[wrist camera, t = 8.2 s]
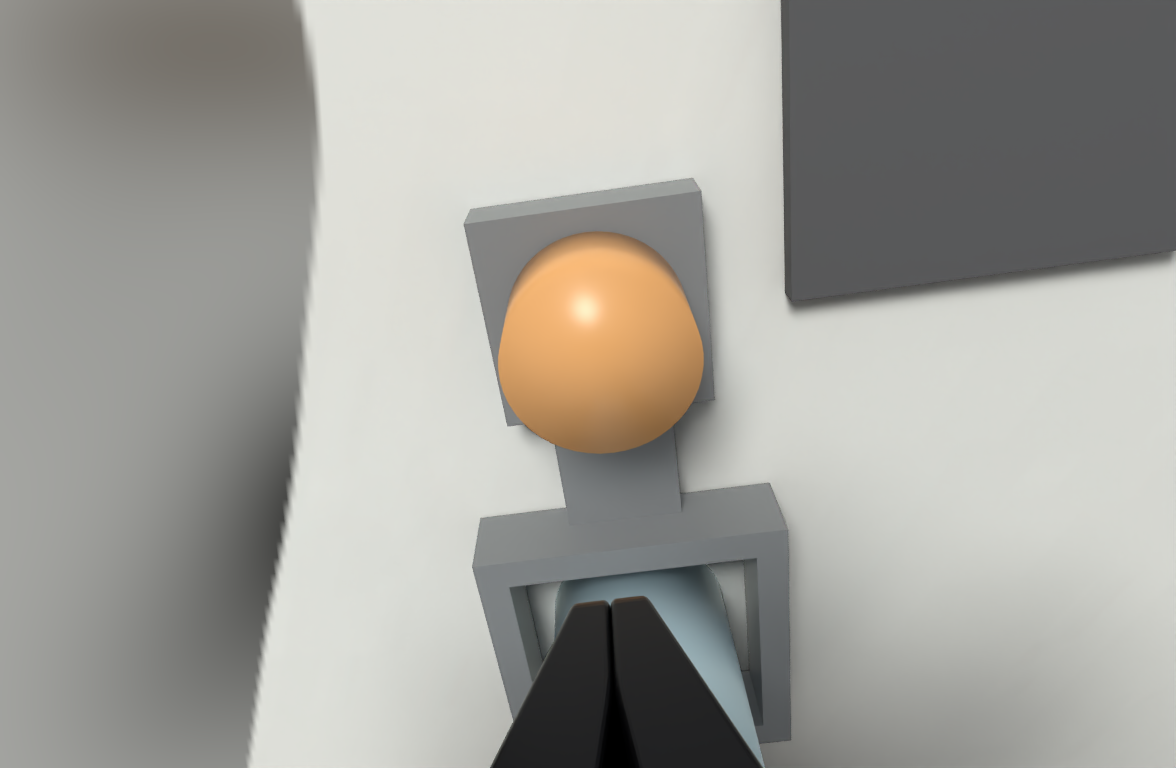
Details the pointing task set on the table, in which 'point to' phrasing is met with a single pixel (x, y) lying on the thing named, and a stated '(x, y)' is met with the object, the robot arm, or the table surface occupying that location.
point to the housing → (625, 463)
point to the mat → (973, 138)
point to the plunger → (599, 344)
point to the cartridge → (680, 627)
